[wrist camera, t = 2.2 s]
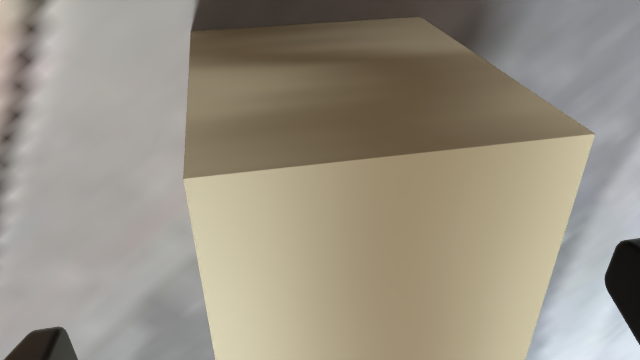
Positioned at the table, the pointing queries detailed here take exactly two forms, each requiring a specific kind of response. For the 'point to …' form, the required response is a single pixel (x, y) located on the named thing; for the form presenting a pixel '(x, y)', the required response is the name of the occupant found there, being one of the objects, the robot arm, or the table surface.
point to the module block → (371, 193)
